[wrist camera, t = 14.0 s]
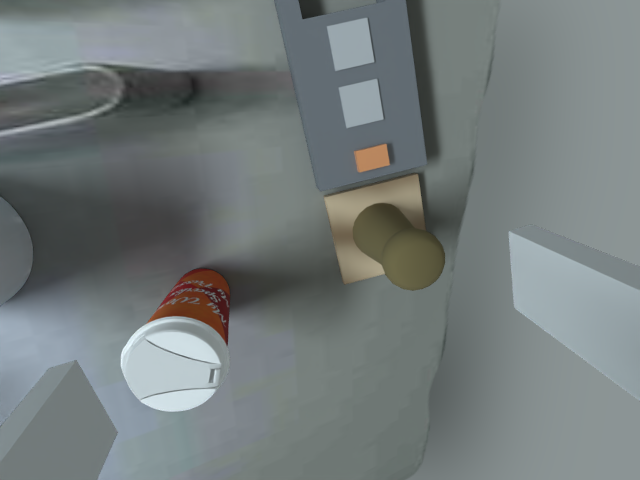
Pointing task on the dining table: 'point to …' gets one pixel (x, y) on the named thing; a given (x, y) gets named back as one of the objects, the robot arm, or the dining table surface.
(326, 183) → the power strip
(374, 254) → the olive knobbed peg
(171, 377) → the paper cup
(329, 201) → the oak board
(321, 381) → the dining table surface
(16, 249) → the utensil holder
